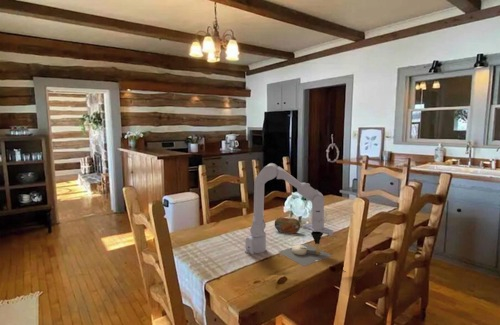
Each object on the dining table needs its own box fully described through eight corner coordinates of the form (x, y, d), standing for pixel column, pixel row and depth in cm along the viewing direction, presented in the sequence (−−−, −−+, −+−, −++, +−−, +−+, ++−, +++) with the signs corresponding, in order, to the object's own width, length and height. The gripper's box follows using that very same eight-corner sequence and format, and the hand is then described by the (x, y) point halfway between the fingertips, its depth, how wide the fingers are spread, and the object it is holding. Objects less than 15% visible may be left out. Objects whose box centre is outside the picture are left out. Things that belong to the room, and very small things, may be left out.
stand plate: (304, 269, 129) (304, 265, 129) (277, 254, 144) (277, 251, 144) (333, 258, 139) (333, 255, 138) (305, 246, 154) (305, 242, 154)
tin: (274, 230, 177) (274, 216, 176) (276, 229, 180) (276, 215, 179) (299, 234, 170) (299, 220, 169) (300, 232, 173) (300, 218, 172)
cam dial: (290, 253, 141) (290, 244, 140) (293, 248, 147) (293, 238, 147) (319, 257, 136) (319, 247, 135) (321, 251, 143) (321, 241, 142)
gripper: (299, 217, 142) (299, 245, 143) (328, 223, 132) (327, 253, 134) (307, 214, 147) (306, 240, 149) (335, 219, 138) (334, 248, 140)
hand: (317, 246), depth 142 cm, fingers closed, pressing on cam dial
